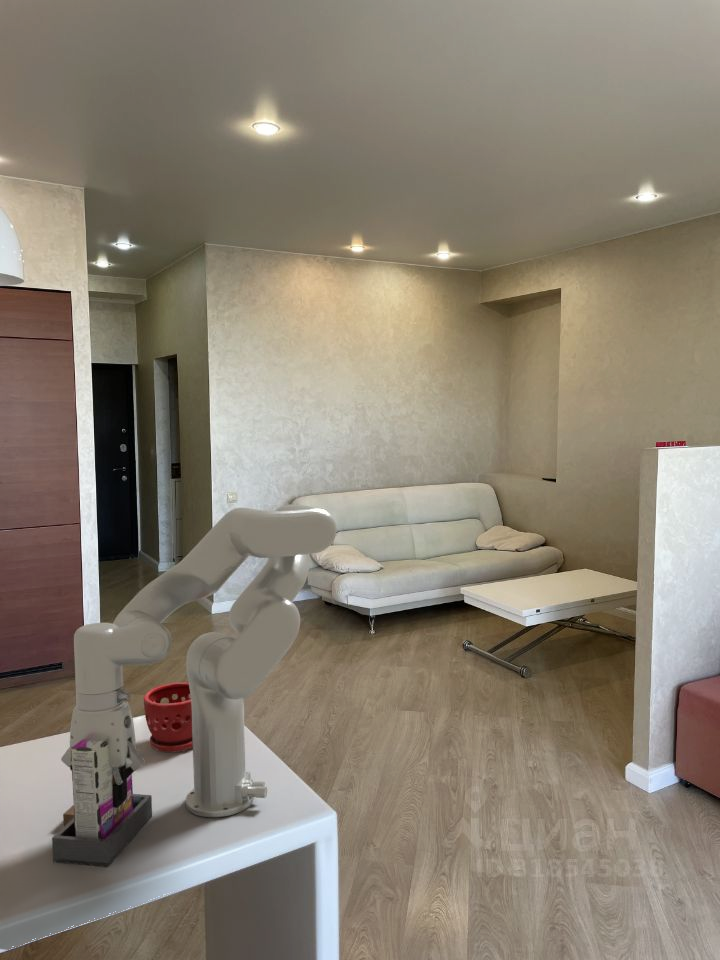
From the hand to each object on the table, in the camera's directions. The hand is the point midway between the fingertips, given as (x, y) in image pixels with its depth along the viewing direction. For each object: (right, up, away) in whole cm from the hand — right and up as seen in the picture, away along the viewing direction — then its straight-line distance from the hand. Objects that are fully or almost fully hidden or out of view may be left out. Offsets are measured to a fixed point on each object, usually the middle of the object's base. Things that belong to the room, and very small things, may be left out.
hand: (104, 801), depth 126 cm
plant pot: (+3, -4, +38) cm, 39 cm away
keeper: (0, -6, 0) cm, 6 cm away
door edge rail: (-6, -6, +12) cm, 14 cm away
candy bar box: (0, -5, 0) cm, 5 cm away
